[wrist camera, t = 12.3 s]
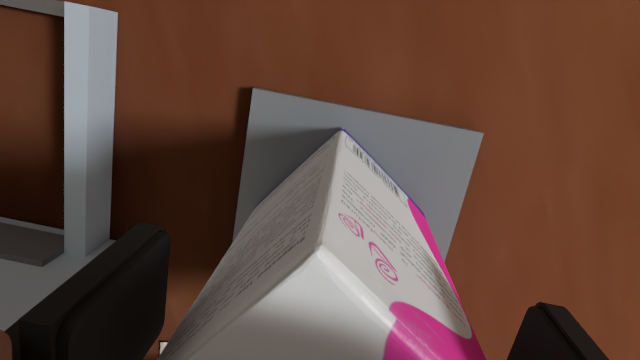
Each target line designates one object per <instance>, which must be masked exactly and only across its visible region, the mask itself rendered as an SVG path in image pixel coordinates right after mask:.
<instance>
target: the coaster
mask: <svg viewBox="0 0 640 360" xmlns="http://www.w3.org/2000/svg"><path fill="white" fill-rule="evenodd" d="M342 127H343V128H344V129H345V130H346V131H347V132H348V133H349V134H350V135H351V136H352V137H353V138H354V139H355V140H356V141H357V142H358V143H359V144H360V145H361V146H362V147H363V148H364V149H365V150H366V151H367V152H368V153H369V154H370V155H371V156H372V158H373V159H374V160H375V161H376V162H377V163H378V164H379V165H380V166H381V167H382V168H383V169H384V170H385V171H386V172H387V173H388V175H389V176H390V177H391V178H392V179H393V180H394V181H395V182H396V183H397V184H398V185H399V186H400V187H401V188H402V190H403V191H404V192H405V193H406V194H407V195H408V196H409V197H410V198H411V199H412V201H413V202H414V203H415V204H416V205H417V206H418V207H419V208H420V210H421V211H422V212H423V214H424V215H425V218H426V221H427V223H428V225H429V228H430V230H431V233H432V235H433V237H434V239H435V242H436V244H437V246H438V249H439V251H440V254H441V256H442V258H443V261H444V262H445V259H446V256H447V252H448V249H449V246H450V242H451V239H452V236H453V233H454V229H455V226H456V223H457V220H458V216H459V213H460V210H461V206H462V203H463V200H464V197H465V193H466V190H467V187H468V184H469V180H470V177H471V174H472V170H473V167H474V164H475V161H476V157H477V154H478V151H479V148H480V144H481V141H482V138H483V134H484V133H482V132H481V131H479V130H474V129H469V128H464V127H459V126H454V125H449V124H444V123H438V122H433V121H428V120H423V119H418V118H413V117H408V116H403V115H397V114H392V113H387V112H382V111H377V110H372V109H367V108H362V107H357V106H351V105H346V104H341V103H336V102H331V101H326V100H321V99H316V98H310V97H305V96H300V95H295V94H290V93H285V92H280V91H275V90H269V89H264V88H259V87H255V88H253V91H252V99H251V106H250V114H249V121H248V129H247V136H246V144H245V151H244V159H243V166H242V174H241V181H240V189H239V196H238V204H237V211H236V219H235V226H234V234H233V241H234V240H235V238H236V237H237V235H238V234H239V232H240V231H241V229H242V228H243V226H244V224H245V222H246V221H247V219H248V218H249V216H250V215H251V213H252V211H253V209H254V208H255V207H256V206H257V205H258V203H259V202H261V201H262V200H263V199H264V198H265V197H266V196H267V195H268V194H269V193H270V192H271V191H273V190H274V189H275V188H276V187H277V186H278V185H279V184H280V183H281V182H282V181H283V180H285V179H286V178H287V177H288V176H289V175H290V174H291V173H292V172H293V171H294V170H295V169H296V168H298V167H299V166H300V165H301V164H302V163H303V162H304V161H305V160H306V159H307V158H309V157H310V156H311V155H312V154H313V153H314V152H315V151H316V150H317V149H318V148H320V147H321V146H322V145H323V144H324V143H325V142H326V141H327V140H328V139H330V138H331V137H332V136H333V135H334V134H335V133H336V132H337V131H338V130H340V129H341V128H342ZM233 241H232V243H233Z"/></svg>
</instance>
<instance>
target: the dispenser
mask: <svg viewBox="0 0 640 360" xmlns="http://www.w3.org/2000/svg"><path fill="white" fill-rule="evenodd" d="M117 22H118V12H113V11H109V10H104V9H100V8H95V7H90V6H85V5H80V4H75V3H70V2H65V1H64V230H62V229H57V228H53V227H48V226H43V225H38V224H33V223H28V222H23V221H18V220H14V219H9V218H4V217H0V330H2V331H5V330H6V329H8V328H9V327H10V326H11V325H13V324H14V323H15V322H16V321H18V319H19V318H21V317H22V316H23V315H24V314H26V313H27V312H28V311H29V310H31V309H32V308H33V307H34V306H36V305H37V304H38V303H39V302H40V301H42V300H43V299H44V298H45V297H47V296H48V295H49V294H50V293H52V292H53V291H54V290H55V289H57V288H58V287H59V286H60V285H62V284H63V283H64V282H65V281H67V280H68V279H69V278H70V277H72V276H73V275H74V274H75V273H77V272H78V271H79V270H80V269H82V268H83V267H84V266H85V265H86V264H88V263H89V262H90V261H91V260H93V259H94V258H95V257H96V256H98V255H99V254H100V253H101V252H103V251H104V250H105V249H106V248H108V247H109V246H110V245H111V244H113V243H114V242H115V241H116V240H111V239H110V214H111V186H112V159H113V131H114V104H115V77H116V49H117Z"/></svg>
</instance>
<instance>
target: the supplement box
mask: <svg viewBox="0 0 640 360" xmlns="http://www.w3.org/2000/svg"><path fill="white" fill-rule="evenodd" d="M157 360H486V359H485V357H484V354H483V352H482V349H481V347H480V345H479V342H478V340H477V338H476V336H475V333H474V331H473V329H472V326H471V324H470V321H469V319H468V317H467V315H466V312H465V310H464V307H463V305H462V303H461V301H460V299H459V296H458V294H457V291H456V289H455V287H454V284H453V282H452V280H451V277H450V275H449V273H448V270H447V268H446V266H445V263H444V261H443V258H442V256H441V254H440V251H439V249H438V246H437V244H436V242H435V239H434V237H433V235H432V233H431V230H430V228H429V225H428V223H427V221H426V218H425V215H424V214H423V212H422V211H421V210H420V208H419V207H418V206H417V205H416V204H415V203H414V202H413V201H412V199H411V198H410V197H409V196H408V195H407V194H406V193H405V192H404V191H403V190H402V188H401V187H400V186H399V185H398V184H397V183H396V182H395V181H394V180H393V179H392V178H391V177H390V176H389V175H388V173H387V172H386V171H385V170H384V169H383V168H382V167H381V166H380V165H379V164H378V163H377V162H376V161H375V160H374V159H373V158H372V156H371V155H370V154H369V153H368V152H367V151H366V150H365V149H364V148H363V147H362V146H361V145H360V144H359V143H358V142H357V141H356V140H355V139H354V138H353V137H352V136H351V135H350V134H349V133H348V132H347V131H346V130H345V129H344V128H343V127H342V128H341V129H340V130H338V131H337V132H336V133H335V134H334V135H333V136H332V137H331V138H330V139H328V140H327V141H326V142H325V143H324V144H323V145H322V146H321V147H320V148H318V149H317V150H316V151H315V152H314V153H313V154H312V155H311V156H310V157H309V158H307V159H306V160H305V161H304V162H303V163H302V164H301V165H300V166H299V167H298V168H296V169H295V170H294V171H293V172H292V173H291V174H290V175H289V176H288V177H287V178H286V179H285V180H283V181H282V182H281V183H280V184H279V185H278V186H277V187H276V188H275V189H274V190H273V191H271V192H270V193H269V194H268V195H267V196H266V197H265V198H264V199H263V200H262V201H261V202H259V203H258V205H257V206H256V207H255V208H254V209H253V211H252V213H251V215H250V216H249V218H248V219H247V221H246V222H245V224H244V226H243V228H242V229H241V231H240V232H239V234H238V235H237V237H236V238H235V240H234V241H233V243H232V245H231V246H230V248H229V249H228V250H227V252H226V254H225V255H224V257H223V258H222V260H221V261H220V263H219V265H218V266H217V268H216V269H215V271H214V272H213V274H212V276H211V277H210V279H209V280H208V281H207V283H206V285H205V286H204V288H203V289H202V291H201V292H200V294H199V295H198V297H197V299H196V300H195V302H194V303H193V305H192V306H191V308H190V310H189V311H188V313H187V314H186V316H185V317H184V319H183V320H182V322H181V323H180V325H179V326H178V328H177V330H176V331H175V333H174V334H173V336H172V337H171V339H170V340H169V342H168V343H167V345H166V346H165V348H164V349H163V351H162V353H161V354H160V356H159V357H158V359H157Z"/></svg>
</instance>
